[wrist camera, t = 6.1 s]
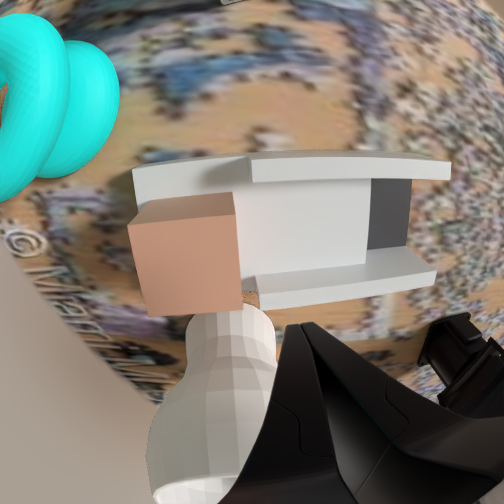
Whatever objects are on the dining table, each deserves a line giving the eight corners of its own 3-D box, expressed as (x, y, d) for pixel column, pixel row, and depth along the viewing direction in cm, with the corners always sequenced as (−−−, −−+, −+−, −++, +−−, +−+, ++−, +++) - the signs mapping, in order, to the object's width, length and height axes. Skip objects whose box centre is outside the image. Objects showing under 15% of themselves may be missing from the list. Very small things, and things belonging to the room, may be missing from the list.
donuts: (-86, 158, 7) (-18, -7, 4) (1, 137, 16) (60, 28, 13) (-2, 251, 10) (94, 43, 7) (80, 198, 19) (153, 80, 17)
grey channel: (401, 257, 23) (433, 284, 19) (162, 281, 22) (149, 319, 18) (410, 152, 20) (451, 162, 15) (142, 164, 19) (118, 175, 14)
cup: (178, 379, 27) (166, 521, 13) (160, 286, 22) (111, 461, 9) (286, 375, 28) (320, 513, 14) (295, 282, 23) (367, 449, 10)
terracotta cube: (238, 266, 20) (243, 309, 15) (163, 273, 19) (148, 316, 15) (232, 191, 18) (235, 214, 13) (151, 200, 17) (126, 225, 13)
